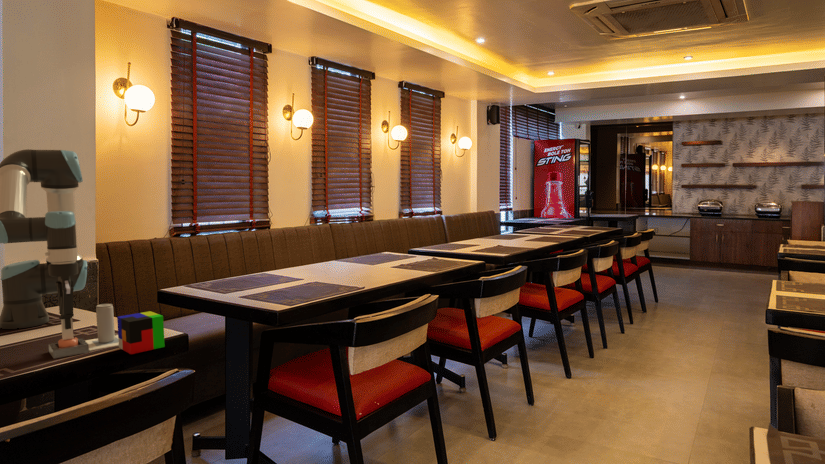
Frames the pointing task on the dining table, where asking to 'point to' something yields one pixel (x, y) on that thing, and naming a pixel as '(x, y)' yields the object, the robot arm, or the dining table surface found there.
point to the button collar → (68, 349)
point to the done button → (68, 342)
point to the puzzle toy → (140, 332)
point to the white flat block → (101, 344)
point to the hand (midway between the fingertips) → (68, 338)
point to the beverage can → (105, 323)
